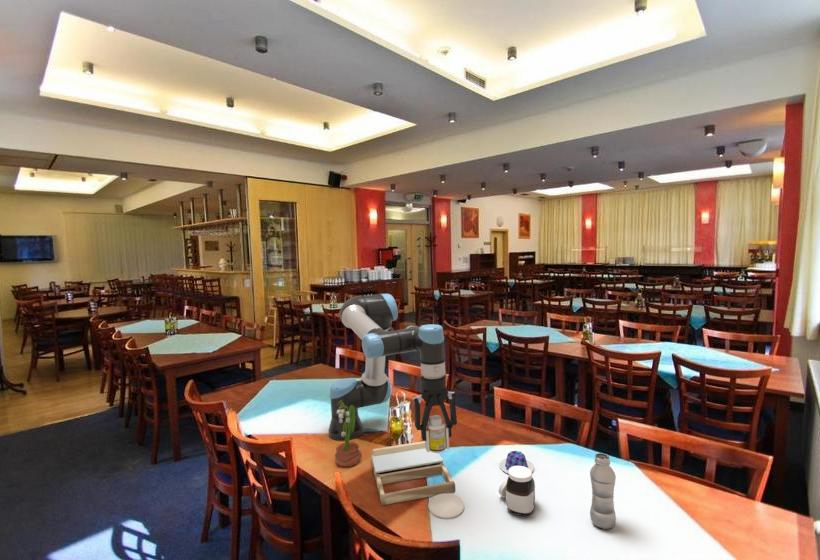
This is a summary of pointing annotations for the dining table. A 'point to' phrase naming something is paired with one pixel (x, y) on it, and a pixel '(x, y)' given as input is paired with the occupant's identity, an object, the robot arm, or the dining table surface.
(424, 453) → the lid
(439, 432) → the supplement bottle
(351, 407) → the potted flower
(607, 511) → the plastic bottle
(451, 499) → the saucer
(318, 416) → the dining table surface
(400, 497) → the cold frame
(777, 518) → the dining table surface
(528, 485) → the spread jar
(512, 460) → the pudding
